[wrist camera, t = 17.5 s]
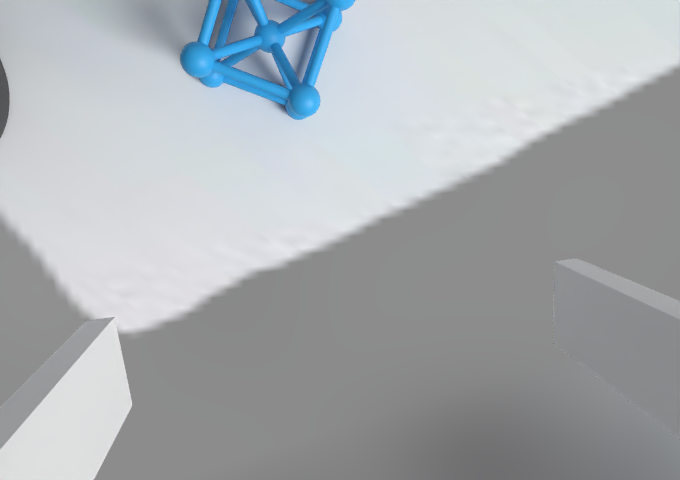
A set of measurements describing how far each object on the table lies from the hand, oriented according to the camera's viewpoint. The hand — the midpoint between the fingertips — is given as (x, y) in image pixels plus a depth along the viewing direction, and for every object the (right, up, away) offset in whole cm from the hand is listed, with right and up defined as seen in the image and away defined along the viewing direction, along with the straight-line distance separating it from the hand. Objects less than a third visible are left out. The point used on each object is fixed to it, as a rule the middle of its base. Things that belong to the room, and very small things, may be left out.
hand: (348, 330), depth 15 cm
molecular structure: (-6, +19, +28) cm, 35 cm away
